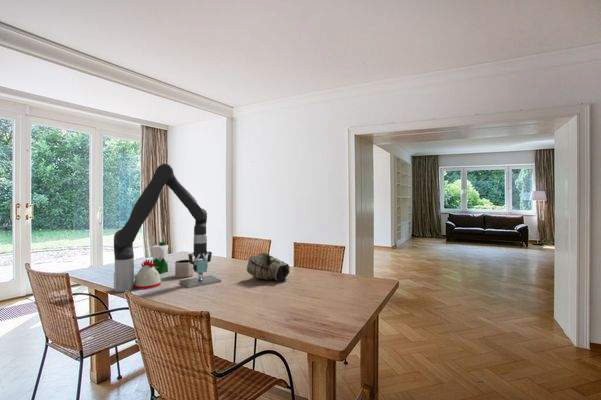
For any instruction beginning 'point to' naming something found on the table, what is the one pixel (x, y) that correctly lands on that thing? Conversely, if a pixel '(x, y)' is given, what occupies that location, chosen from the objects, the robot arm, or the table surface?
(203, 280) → the shaft plate
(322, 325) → the table surface
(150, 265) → the kitchen timer
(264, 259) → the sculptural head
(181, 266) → the planter
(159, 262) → the milk carton
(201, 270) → the teal plastic block
